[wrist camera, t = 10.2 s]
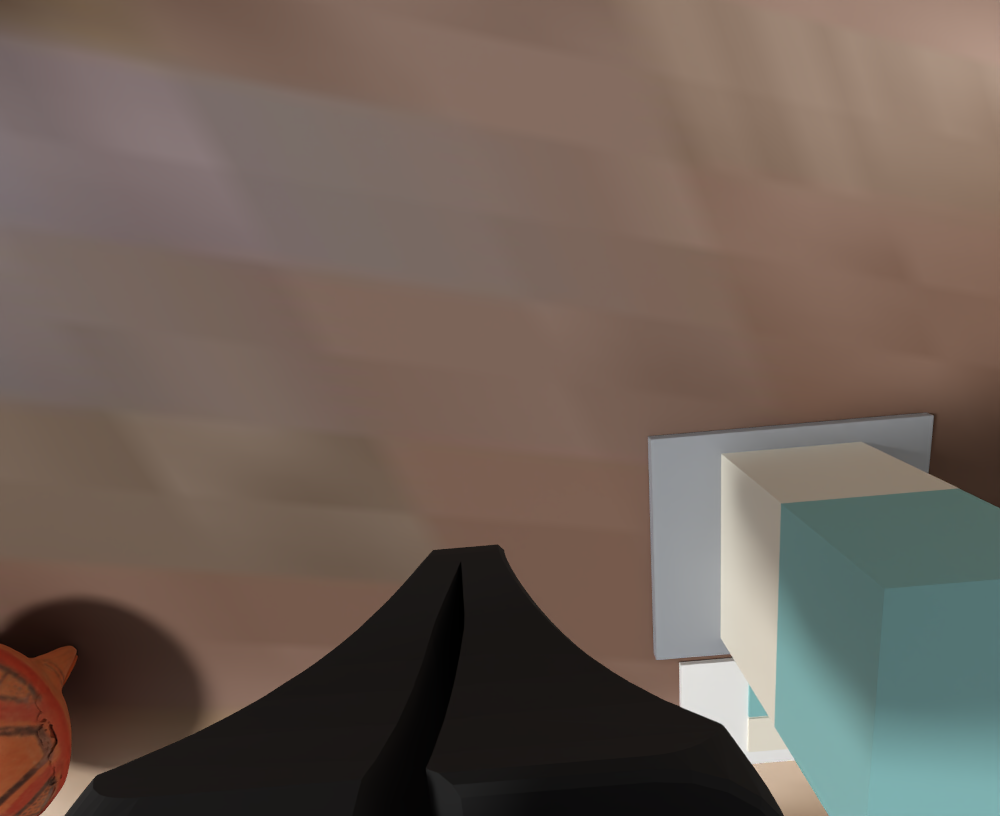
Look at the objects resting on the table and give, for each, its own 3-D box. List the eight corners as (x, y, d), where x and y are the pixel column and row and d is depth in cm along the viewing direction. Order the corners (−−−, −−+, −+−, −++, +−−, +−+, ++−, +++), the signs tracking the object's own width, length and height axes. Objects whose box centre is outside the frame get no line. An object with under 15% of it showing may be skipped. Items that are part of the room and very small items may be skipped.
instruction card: (871, 749, 25) (876, 755, 24) (680, 765, 25) (682, 771, 24) (880, 645, 23) (885, 650, 23) (679, 662, 23) (681, 667, 23)
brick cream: (849, 626, 23) (935, 713, 18) (720, 637, 23) (774, 726, 18) (861, 441, 21) (959, 488, 17) (721, 453, 21) (781, 503, 17)
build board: (906, 632, 23) (913, 638, 23) (653, 653, 23) (656, 659, 23) (925, 412, 21) (934, 415, 21) (648, 436, 21) (650, 439, 21)
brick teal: (934, 713, 18) (1073, 853, 14) (774, 726, 18) (862, 871, 14) (958, 488, 17) (1126, 568, 12) (781, 503, 17) (884, 588, 12)
